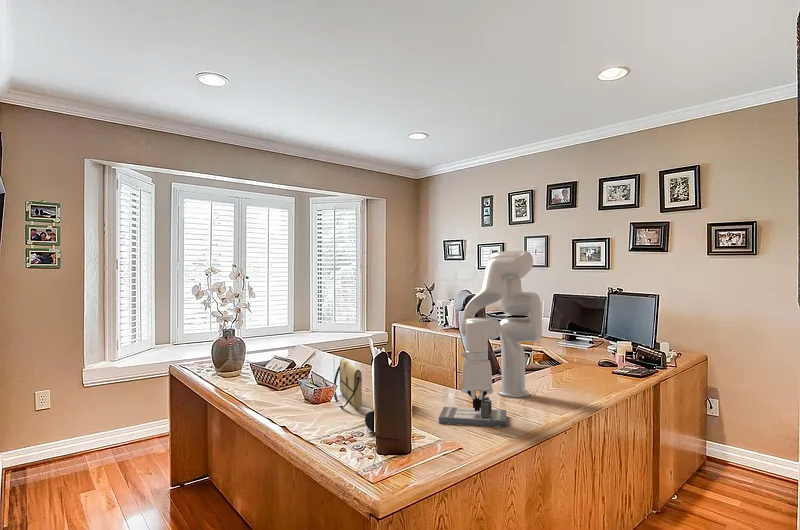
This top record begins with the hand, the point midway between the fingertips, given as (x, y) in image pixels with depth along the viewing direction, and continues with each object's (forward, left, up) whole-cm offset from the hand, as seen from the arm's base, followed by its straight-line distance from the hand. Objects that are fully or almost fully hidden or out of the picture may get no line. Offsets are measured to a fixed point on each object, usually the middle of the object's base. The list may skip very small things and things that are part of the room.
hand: (477, 410), depth 159 cm
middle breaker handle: (0, +4, -1) cm, 4 cm away
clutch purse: (-13, -52, -4) cm, 54 cm away
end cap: (+16, -29, -4) cm, 33 cm away
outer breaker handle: (+5, +3, -1) cm, 5 cm away
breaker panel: (0, -1, -3) cm, 3 cm away
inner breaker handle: (-4, +3, -1) cm, 5 cm away
